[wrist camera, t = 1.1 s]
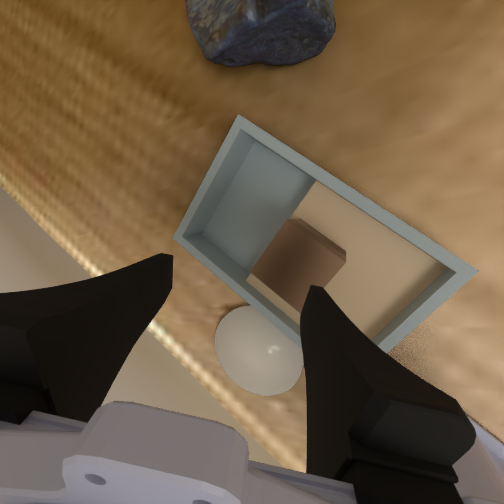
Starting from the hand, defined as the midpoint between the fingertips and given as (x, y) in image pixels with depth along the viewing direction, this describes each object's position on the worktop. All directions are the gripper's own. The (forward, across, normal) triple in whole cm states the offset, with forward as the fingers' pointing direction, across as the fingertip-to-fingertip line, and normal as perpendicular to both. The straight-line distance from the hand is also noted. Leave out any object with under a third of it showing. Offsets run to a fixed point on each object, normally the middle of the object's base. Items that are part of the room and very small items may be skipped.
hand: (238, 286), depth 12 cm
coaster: (+9, -3, +14) cm, 16 cm away
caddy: (+11, -4, +2) cm, 12 cm away
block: (+8, -5, +1) cm, 10 cm away
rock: (+18, +4, -16) cm, 24 cm away
